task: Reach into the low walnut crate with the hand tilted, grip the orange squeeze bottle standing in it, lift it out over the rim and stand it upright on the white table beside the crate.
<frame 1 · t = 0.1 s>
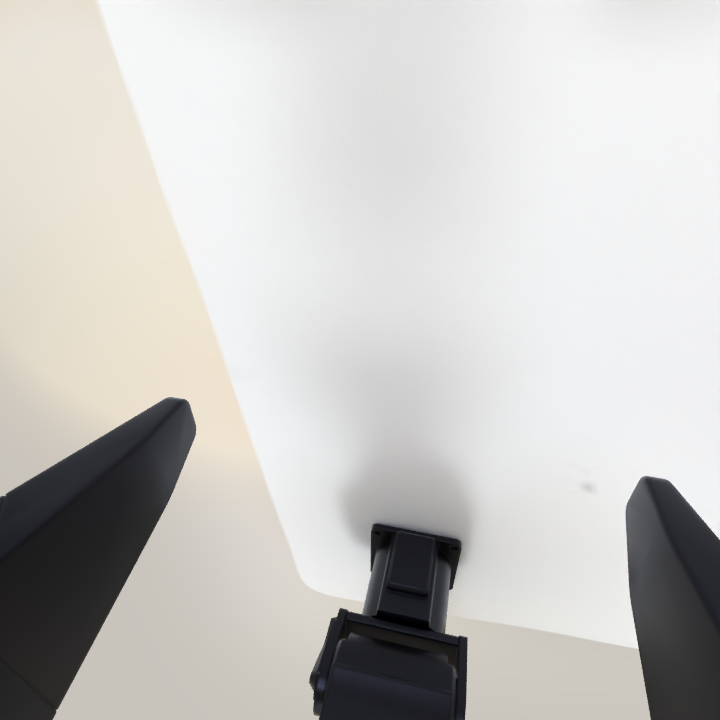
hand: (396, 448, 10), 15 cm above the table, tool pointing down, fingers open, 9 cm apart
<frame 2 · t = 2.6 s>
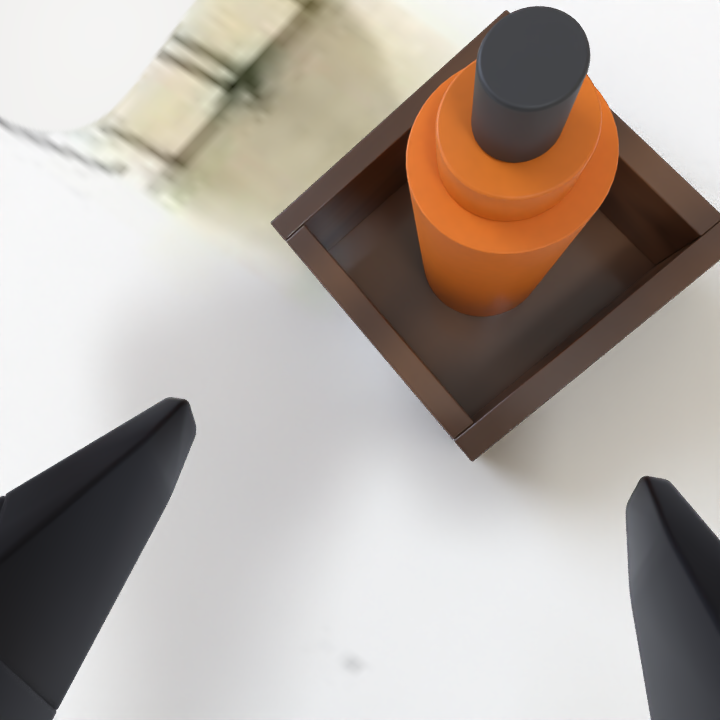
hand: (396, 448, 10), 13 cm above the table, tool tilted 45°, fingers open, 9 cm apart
crate: (481, 263, 24), on the table
orange bottle: (482, 258, 23), point 1 cm above the table, touching crate
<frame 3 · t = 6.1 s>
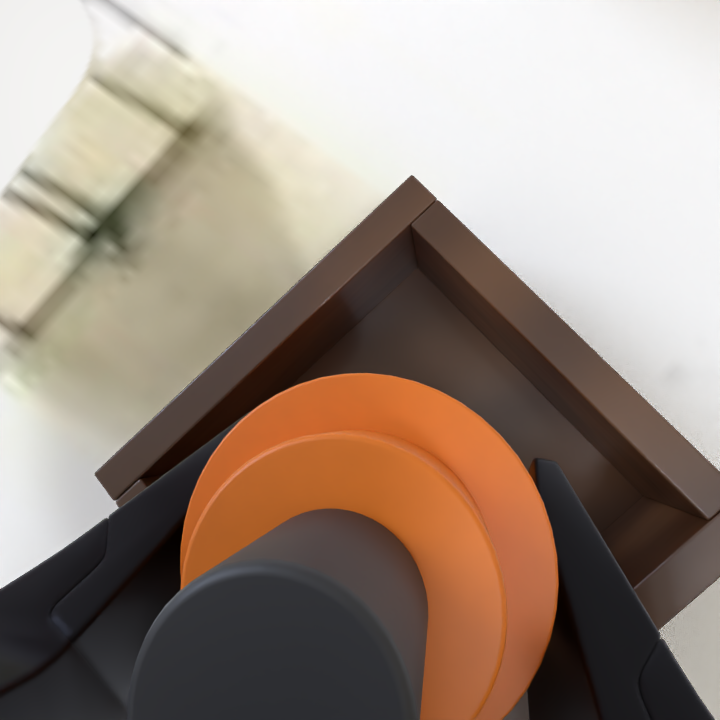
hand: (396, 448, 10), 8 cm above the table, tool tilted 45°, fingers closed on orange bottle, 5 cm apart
crate: (410, 476, 18), on the table
orange bottle: (408, 479, 17), point 1 cm above the table, touching crate, gripper
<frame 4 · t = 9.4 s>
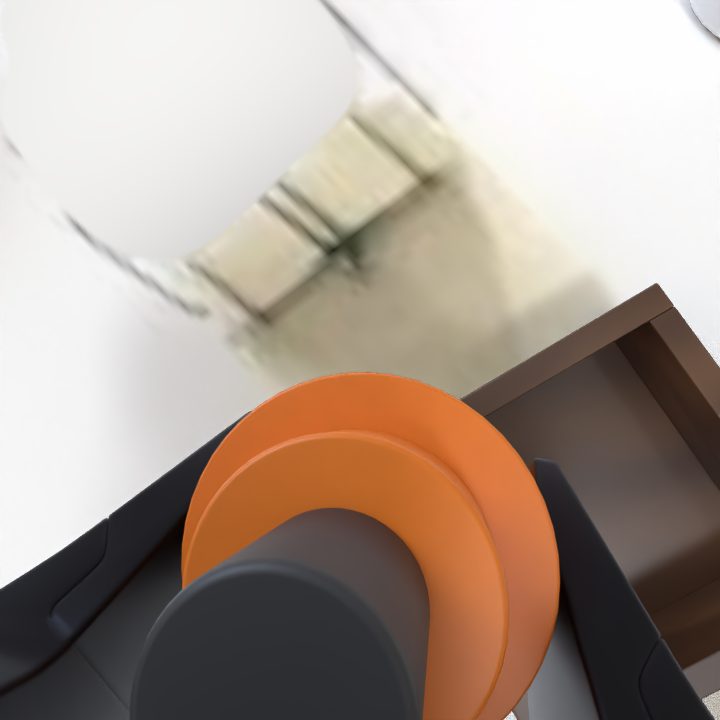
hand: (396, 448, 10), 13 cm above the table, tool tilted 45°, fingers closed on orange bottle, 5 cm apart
crate: (571, 499, 22), on the table
orange bottle: (409, 478, 17), point 7 cm above the table, touching gripper
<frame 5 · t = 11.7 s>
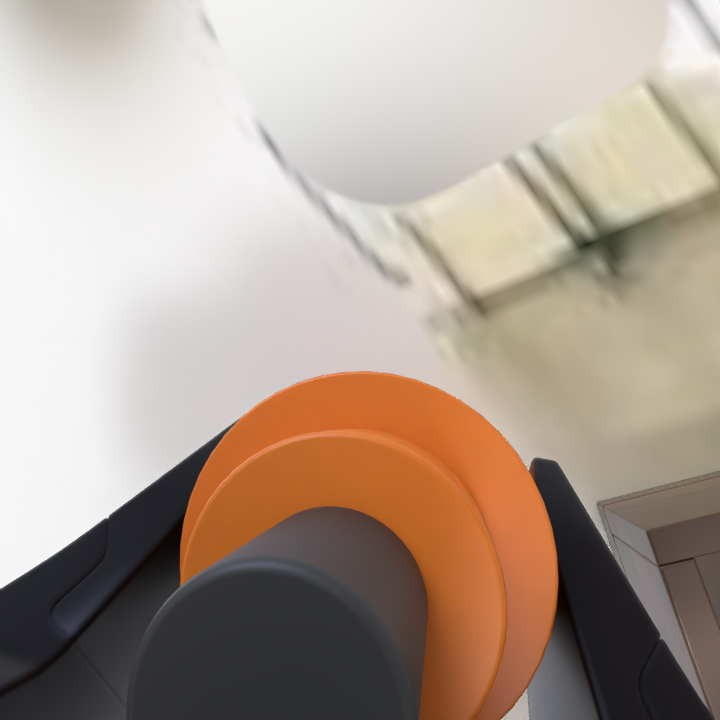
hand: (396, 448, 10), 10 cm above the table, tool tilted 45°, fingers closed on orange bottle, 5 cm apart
orange bottle: (408, 478, 17), point 3 cm above the table, touching gripper
when the fingers open (7 cm above the table, at t = 13.2 s): orange bottle stays where it is, on the table.
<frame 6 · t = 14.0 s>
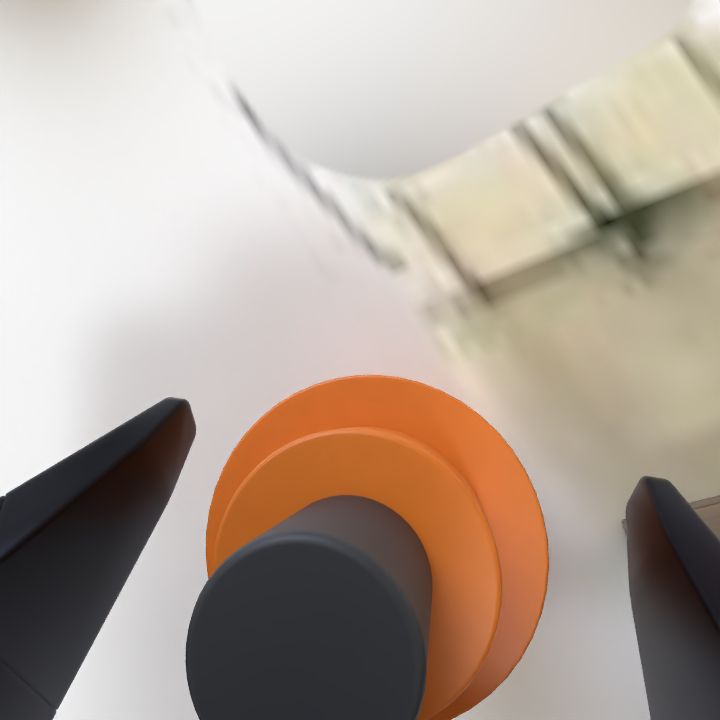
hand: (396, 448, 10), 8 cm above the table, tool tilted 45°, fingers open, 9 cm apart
orange bottle: (410, 475, 17), on the table
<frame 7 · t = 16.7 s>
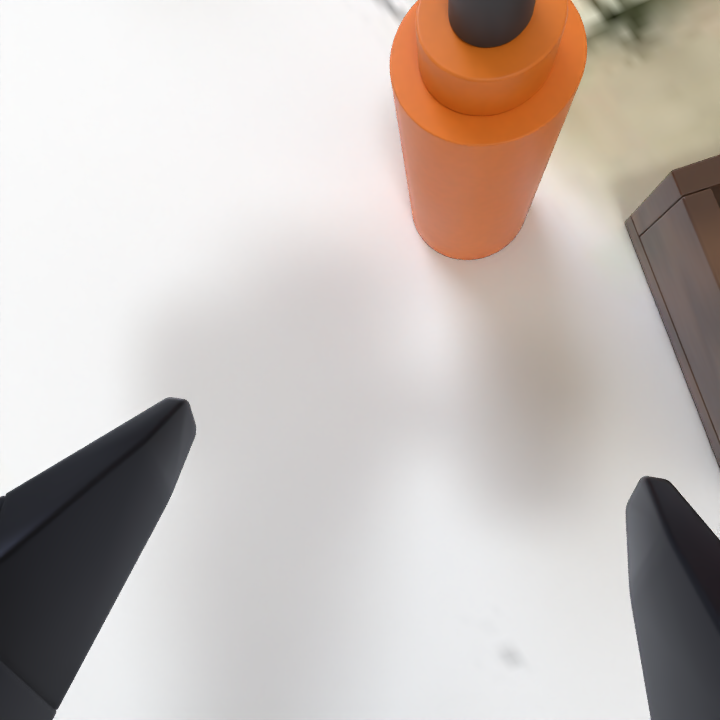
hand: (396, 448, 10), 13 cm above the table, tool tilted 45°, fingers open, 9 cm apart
orange bottle: (468, 205, 24), on the table
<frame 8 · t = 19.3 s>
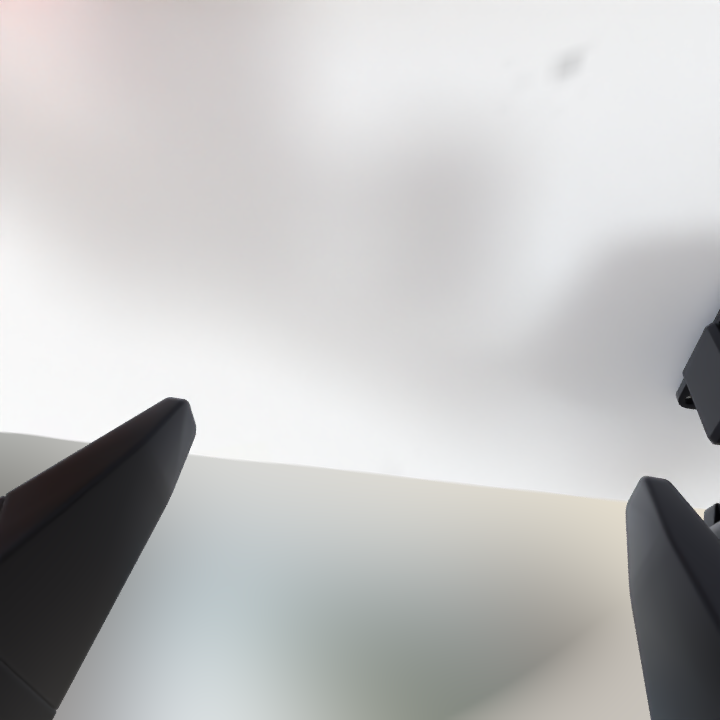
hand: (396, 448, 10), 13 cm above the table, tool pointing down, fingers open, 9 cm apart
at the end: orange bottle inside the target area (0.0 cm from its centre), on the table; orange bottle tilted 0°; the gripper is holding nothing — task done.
